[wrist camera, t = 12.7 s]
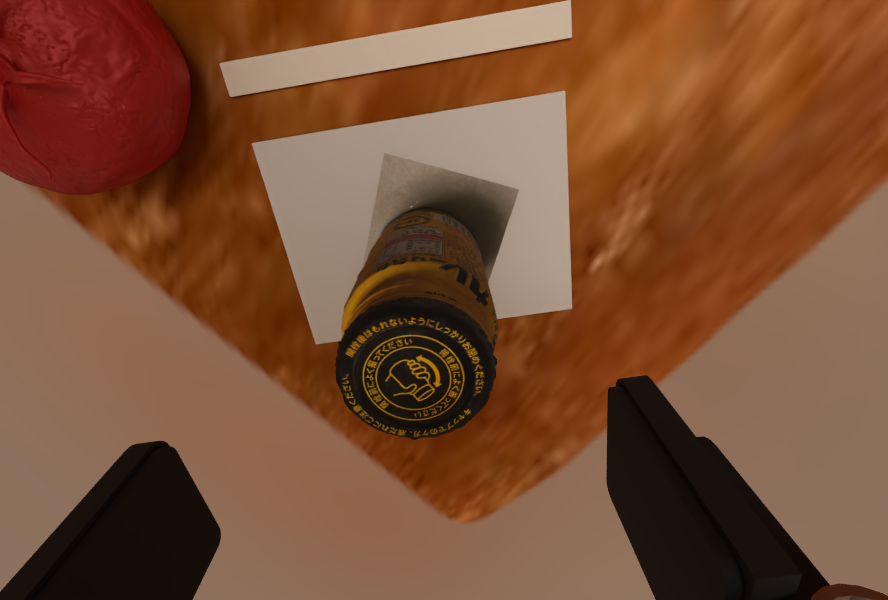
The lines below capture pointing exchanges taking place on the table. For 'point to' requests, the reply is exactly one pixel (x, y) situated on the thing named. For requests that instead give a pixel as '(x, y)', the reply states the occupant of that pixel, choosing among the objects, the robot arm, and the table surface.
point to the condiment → (424, 302)
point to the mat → (433, 143)
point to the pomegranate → (88, 93)
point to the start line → (399, 49)
